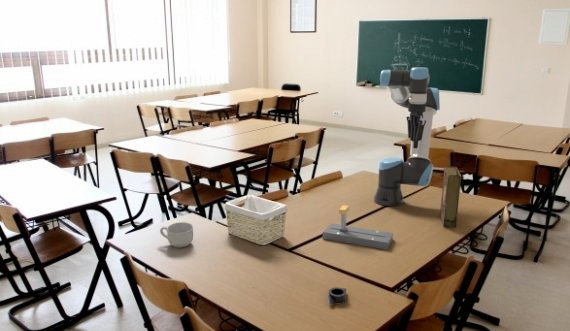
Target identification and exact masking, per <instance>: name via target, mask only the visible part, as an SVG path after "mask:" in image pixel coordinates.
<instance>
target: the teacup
mask: <svg viewBox="0 0 570 331" xmlns="http://www.w3.org/2000/svg"><path fill="white" fill-rule="evenodd" d="M164 230H165V231H166V233H167V234H166V233H164ZM159 233H160V234H161V236H162V237H164V238H165V239H166V240H167V241H168V243H169V244H170V245H171V246H172V247H174V248H178V249H179V248H186V247H189V245H190V244H191V243H192V242H193V240H194V225H193V224H192V223H190V222H186V221H185V222H183V221H182V222H179V221H178V222H174V223H172V224H170V225H168V226H162V227H161V228H160V230H159Z"/></svg>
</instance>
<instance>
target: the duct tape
mask: <svg viewBox="0 0 570 331" xmlns="http://www.w3.org/2000/svg"><path fill="white" fill-rule="evenodd" d="M346 301H347V288H343V287H338V286H337V287H331V288H330V289H329V290H328V298H327V303H328V304H330V305H332V306H334V305H335V303H341V304H344V303H345V302H346ZM343 302H344V303H343Z"/></svg>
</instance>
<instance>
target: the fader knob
mask: <svg viewBox="0 0 570 331" xmlns="http://www.w3.org/2000/svg"><path fill="white" fill-rule="evenodd" d="M349 210H350V206H349V205H345V204H343V205H342V206H341V207H340V208H339V210H338V214H339V215H340V216H341V217H340V218H341V219H340V225H341V227H340V228H339V230H342V231H346V230H347V229H348V227H346V226H347V213H348V212H349Z"/></svg>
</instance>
